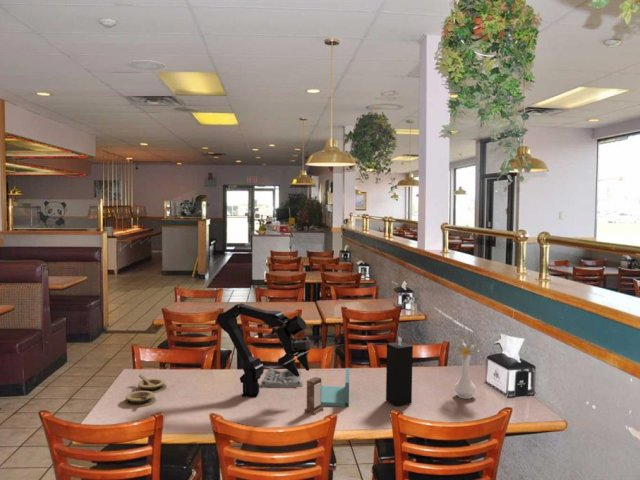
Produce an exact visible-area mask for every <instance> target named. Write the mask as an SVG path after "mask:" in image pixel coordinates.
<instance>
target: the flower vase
mask: <svg viewBox="0 0 640 480" xmlns="http://www.w3.org/2000/svg"><path fill="white" fill-rule="evenodd" d="M449 350H451V351H450V353H449V354H450V356H451V359H453V358H454V357H455V356H461V361H462V362H461V363H462V364H461V375H460V378H459V380H458V381H457V382H456V383H455V384H454V386H453V387H454V388H453V391H454V392H455V393H456V394H457V397H458V398H461V399H465V400H469V399H471V398H473V396H474V395H475V394H476V392H477V388H476V385H475V384H474V383H473V381H472V379H471V376H470V361H471V357H472V356H473V355H474V354H476V355H477V356H478V357H479V358H483V357H482V354H481V353H480V352H481V351H480V347H479V345H478V344H477V341H474V344H472V341H471V340H470V339H468V340H467V341H466V343H465V340H464V339H463V338H460V339H459V340H458V339H456V338H455V340H454V342H453V343H452V345H451V346H450V347H449Z"/></svg>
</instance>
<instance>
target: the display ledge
mask: <svg viewBox="0 0 640 480" xmlns="http://www.w3.org/2000/svg"><path fill="white" fill-rule="evenodd" d="M344 382H345V384H344V385H345V386H341V385H340V386H337V385H335V386H334V385H333V386H332V385H321V407H347V408H348V407H349V406H350V367H346V368H345V381H344Z"/></svg>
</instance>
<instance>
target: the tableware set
mask: <svg viewBox="0 0 640 480" xmlns="http://www.w3.org/2000/svg"><path fill="white" fill-rule="evenodd" d="M138 377H139V378H140V379H141V381H139V382H138V383H137V387H136V389H135V390H136V391H133V392H130V393H129V392H128V393H127V394H126V395H125V399H124V400H123V401H122V405H123V406H124V407H127V408H133V409H134V408H136V409H139V408H145V407H149V406H152V405H154V404H155V403H156V401H157V398H156V397H155V394H157V393H160V392H163V391H165V390H167V387H168V386H167V384H166V383H165V381H166V380H164V379H161V378H148V379H147V378H146V377H145V375H144V374H142V373H139V374H138Z"/></svg>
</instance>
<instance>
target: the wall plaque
mask: <svg viewBox="0 0 640 480" xmlns="http://www.w3.org/2000/svg"><path fill="white" fill-rule="evenodd" d="M297 370H298V372H299V377H297V376H295V375H294V374H293V373H291V372H290V371H289V370H287V369H285V370H282V371H281V370H278V369H276V368H272V367H271V368H268V369H267V370H266V371H267V372H266V374H265V376H264V378H263V380H261V382H260V385H261V387H263V388H282V389H283V388H285V389H286V388H288V389H291V388H292V389H293V388H295V387H300V388H302V387H303V385H304V384H303V382H302V381H301V379H300V378H301V374H302V371H301V369H300V368H297Z"/></svg>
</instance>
